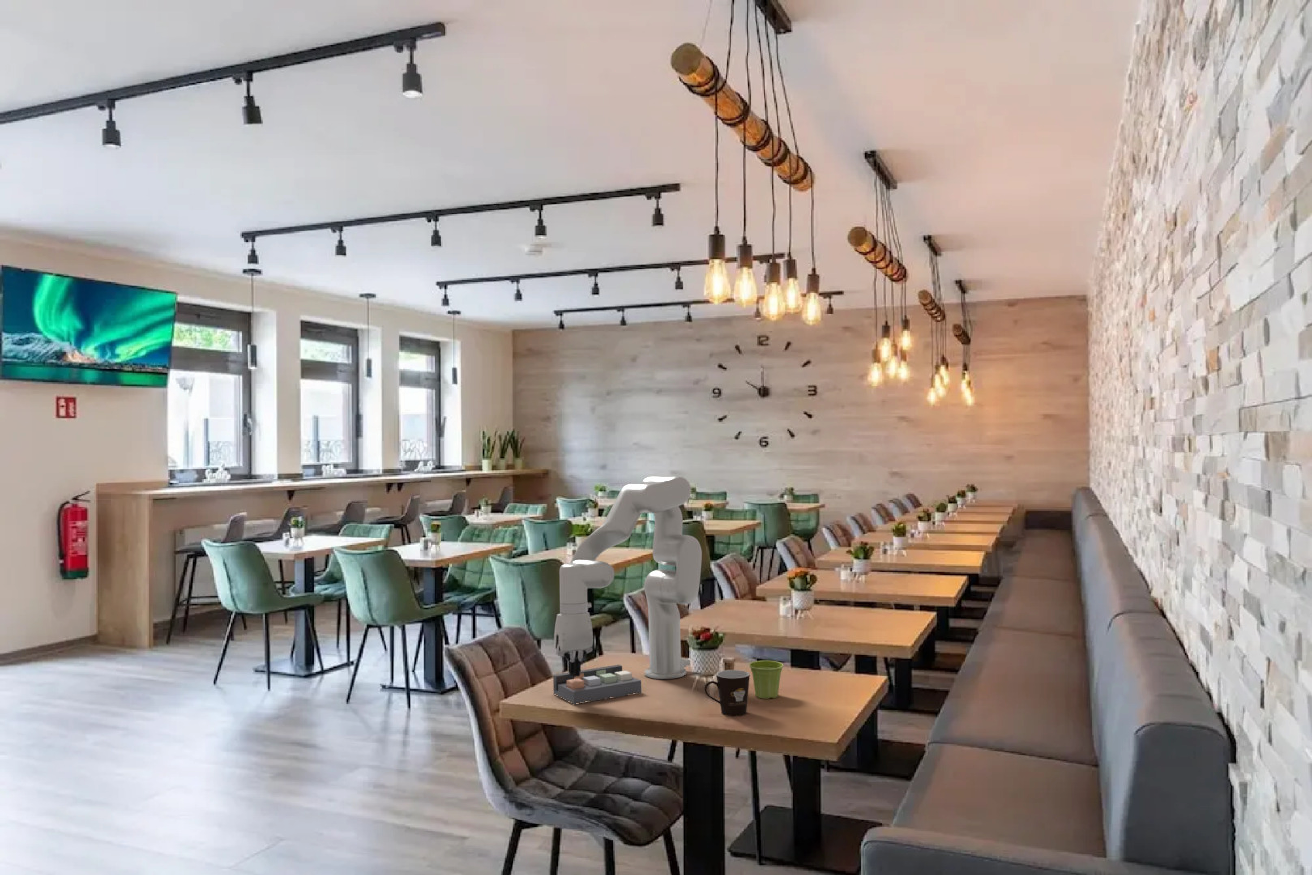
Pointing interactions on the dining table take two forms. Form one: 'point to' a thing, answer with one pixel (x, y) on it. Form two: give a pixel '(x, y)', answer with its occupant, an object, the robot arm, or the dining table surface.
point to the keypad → (595, 686)
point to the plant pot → (766, 678)
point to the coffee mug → (732, 691)
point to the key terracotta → (575, 683)
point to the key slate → (591, 680)
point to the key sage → (607, 678)
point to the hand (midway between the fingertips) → (574, 675)
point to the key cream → (623, 675)
